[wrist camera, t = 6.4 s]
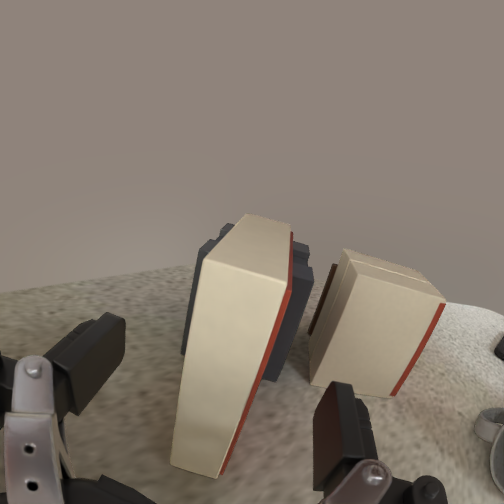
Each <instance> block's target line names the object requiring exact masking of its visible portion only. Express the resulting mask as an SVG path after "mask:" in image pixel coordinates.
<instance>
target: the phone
mask: <svg viewBox="0 0 504 504" xmlns="http://www.w3.org/2000/svg"><path fill="white" fill-rule="evenodd" d="M495 353H496V354H497V355H498V356H499V357H500V358H502V359H503V360H504V337H503V338H502V340H501V341H500V343H499V344H498V345H497V347H496V349H495Z"/></svg>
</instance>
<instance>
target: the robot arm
mask: <svg viewBox="0 0 504 504" xmlns="http://www.w3.org/2000/svg"><path fill="white" fill-rule="evenodd" d="M125 330H126V322H125V319H124V318H121V317H119V316H116V315H114V314H111V313H109V312H106V313H104V314H103V315H102V316H101V317H100V318H99V319H98V320H93V319H91V320H88V321H86V322H83V323H81V324H79V325H78V326H77V327H76V328H75V329H74V330H73V331H71V332H70V333H69V334H68V335H66V337H64V338H63V339H62V340H61V341H60V342H58V343H57V344H56V345H55V346H54V347H53V348H51V349H50V350H49V351H48V352H47V353H46V354H45V355H43V356H38V355H29V356H26V357H23V358H22V359H20V360H19V361H17V360H14V359H11V358H8V357H5V356H2V355H1V351H0V430H1V428H2V427H3V426H4V465H5V481H6V492H5V493H0V504H156V503H155V502H153V501H152V500H150V499H149V498H147V497H145V496H144V495H142V494H141V493H139V492H138V491H136V490H135V489H133V488H131V487H129V486H126V485H124V484H122V483H120V482H117V481H115V480H113V479H111V478H109V477H107V476H105V475H103V474H102V475H101V477H100V478H99V480H98V481H97V480H92V479H85V478H76V476H75V473H74V469H73V466H72V462H71V458H70V452H69V446H68V439H67V432H66V424H65V418H64V416H65V415H66V414H67V413H68V411H70V412H71V413H73V414H75V415H77V416H79V415H80V414H81V412H82V411H83V410H84V409H85V407H86V406H87V405H88V403H89V402H90V401H91V400H92V398H93V397H94V396H95V395H96V393H97V392H98V391H99V390H100V388H101V387H102V386H103V385H104V383H105V382H106V381H107V380H108V378H109V377H110V376H111V375H112V373H113V372H114V371H115V370H116V368H117V367H118V366H119V365H120V363H121V361H122V359H123V357H124V353H125ZM371 428H372V426H371V422H370V417H369V413H368V409H367V407H366V406H365V404H364V403H363V402H362V400H361V399H358V398H355V396H354V391H353V387H352V385H351V384H348V383H342V382H337V381H331V382H330V384H329V386H328V388H327V389H326V391H325V393H324V395H323V397H322V399H321V400H320V402H319V404H318V406H317V408H316V410H315V413H314V416H313V491H323V492H324V498H323V499H322V500H321V501H320V502H319V503H318V504H448V501H447V496H446V492H445V488H444V486H443V484H442V483H441V482H440V481H439V480H438V479H437V478H435V477H433V476H428V475H425V476H421V477H419V478H418V479H416V480H415V481H414V482H413V483H412V482H409V481H405V480H401V479H398V478H395V477H393V476H392V473H391V471H390V469H389V468H388V467H387V466H386V465H385V464H384V463H382V462H381V461H379V460H378V456H377V450H376V445H375V441H374V436H373V431H372V430H371Z"/></svg>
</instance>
